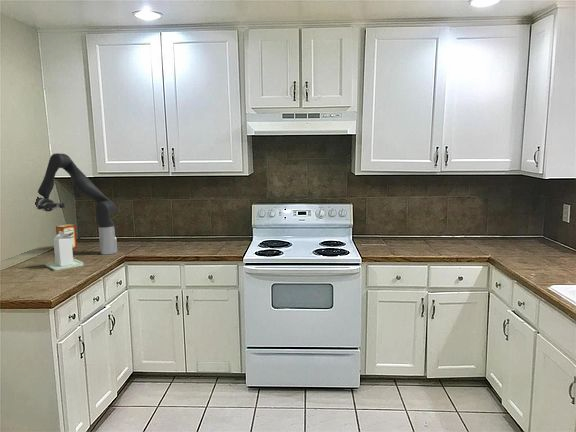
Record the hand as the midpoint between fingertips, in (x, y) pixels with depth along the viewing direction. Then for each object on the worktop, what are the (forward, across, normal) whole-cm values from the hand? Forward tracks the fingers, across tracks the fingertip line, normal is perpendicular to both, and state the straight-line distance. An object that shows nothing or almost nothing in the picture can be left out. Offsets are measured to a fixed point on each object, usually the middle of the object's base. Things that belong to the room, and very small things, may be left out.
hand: (54, 207), depth 263 cm
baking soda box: (-30, +14, +32) cm, 46 cm away
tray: (+17, -2, +32) cm, 36 cm away
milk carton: (+17, -2, +32) cm, 36 cm away
